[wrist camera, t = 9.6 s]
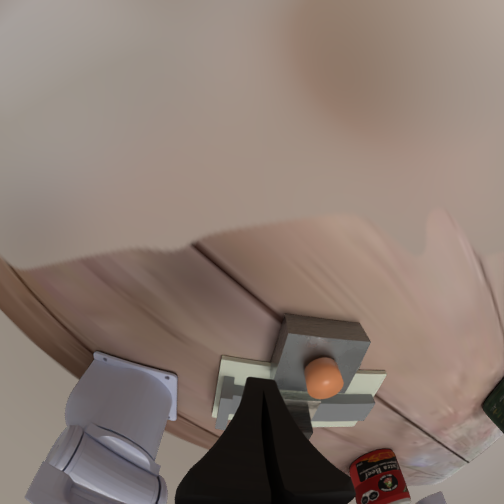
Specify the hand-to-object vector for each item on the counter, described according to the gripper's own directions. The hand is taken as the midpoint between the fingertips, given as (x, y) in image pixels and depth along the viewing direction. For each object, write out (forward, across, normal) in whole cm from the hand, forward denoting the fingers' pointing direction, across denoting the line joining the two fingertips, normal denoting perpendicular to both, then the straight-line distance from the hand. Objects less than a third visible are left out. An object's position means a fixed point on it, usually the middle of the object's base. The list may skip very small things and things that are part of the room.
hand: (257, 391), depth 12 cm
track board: (+10, -6, +11) cm, 16 cm away
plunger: (+7, -6, +4) cm, 10 cm away
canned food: (+11, -24, +27) cm, 38 cm away
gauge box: (+10, -6, +4) cm, 13 cm away
